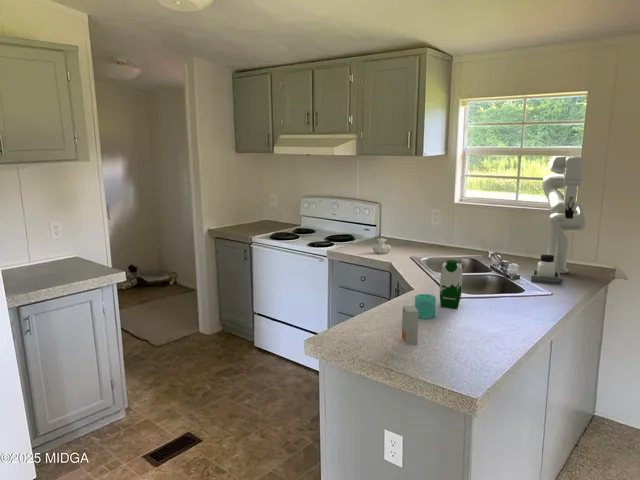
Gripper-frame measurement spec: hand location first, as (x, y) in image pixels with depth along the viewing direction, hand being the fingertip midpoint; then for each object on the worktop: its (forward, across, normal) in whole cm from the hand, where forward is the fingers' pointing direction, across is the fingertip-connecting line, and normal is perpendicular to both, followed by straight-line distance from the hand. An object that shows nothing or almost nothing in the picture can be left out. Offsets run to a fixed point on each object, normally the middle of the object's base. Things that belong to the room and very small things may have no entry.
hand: (568, 217), depth 239 cm
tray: (+32, +2, -8) cm, 33 cm away
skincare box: (+32, +109, -51) cm, 125 cm away
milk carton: (+32, +64, -45) cm, 85 cm away
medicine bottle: (+32, +2, -8) cm, 33 cm away
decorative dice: (+33, +81, -52) cm, 102 cm away
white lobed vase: (+33, -23, -103) cm, 110 cm away
